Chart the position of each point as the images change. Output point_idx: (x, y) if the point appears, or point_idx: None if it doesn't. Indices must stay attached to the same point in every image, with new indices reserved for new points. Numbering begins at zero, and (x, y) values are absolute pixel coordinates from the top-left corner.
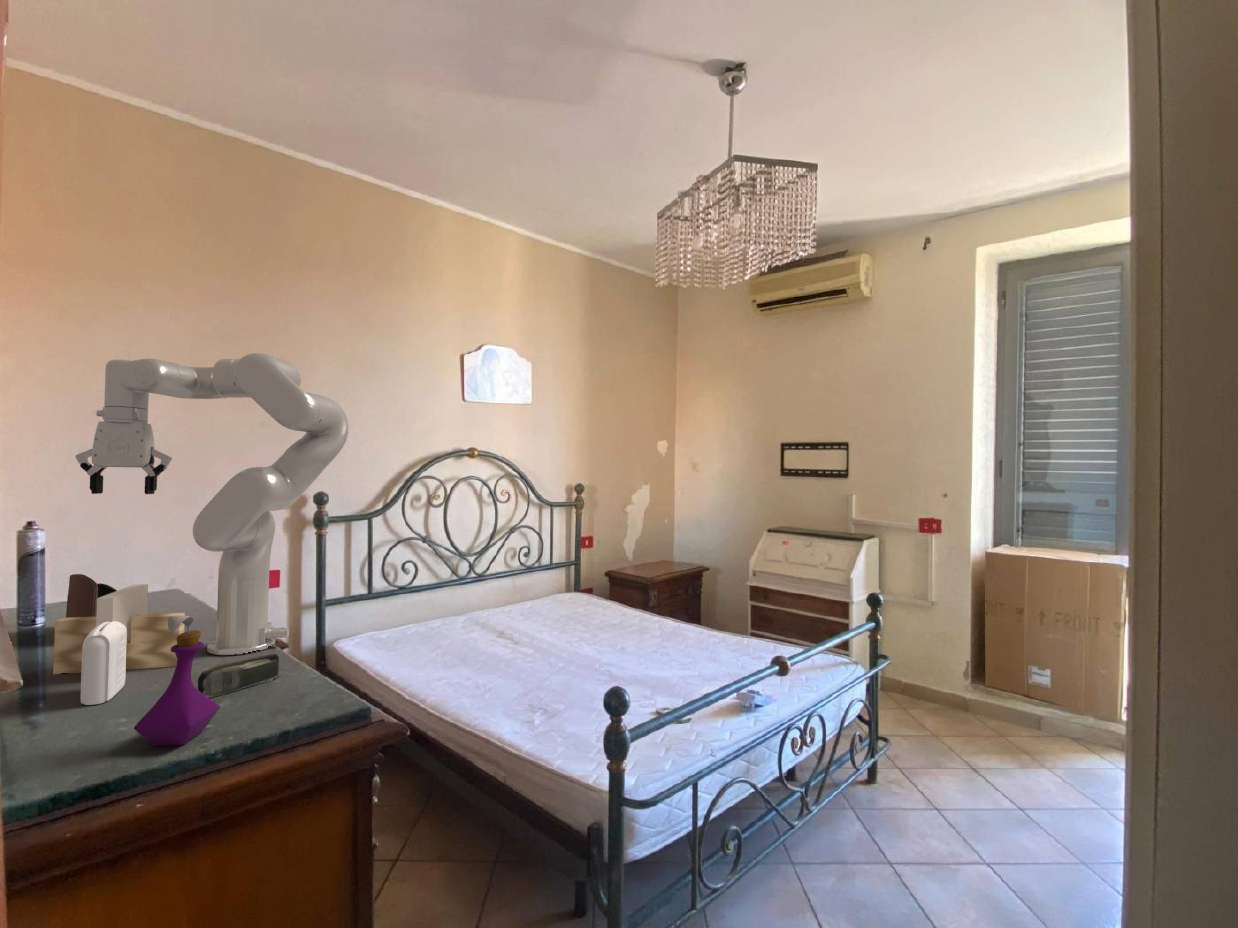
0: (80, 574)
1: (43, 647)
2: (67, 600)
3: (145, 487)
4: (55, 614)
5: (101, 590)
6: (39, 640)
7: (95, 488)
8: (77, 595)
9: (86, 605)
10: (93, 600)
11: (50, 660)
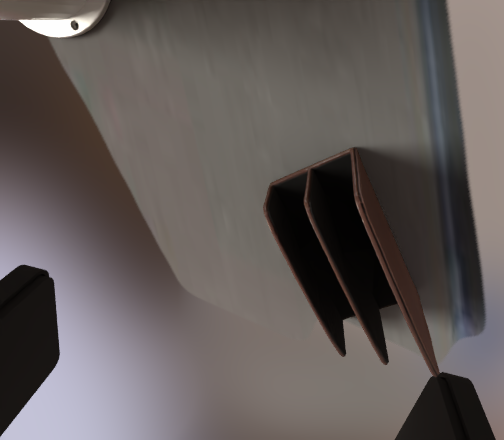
0: (414, 330)
1: (436, 152)
2: (428, 331)
3: (1, 304)
4: None
5: (362, 307)
6: (450, 218)
7: (449, 413)
8: (408, 292)
9: (379, 222)
10: (361, 183)
11: (409, 19)
